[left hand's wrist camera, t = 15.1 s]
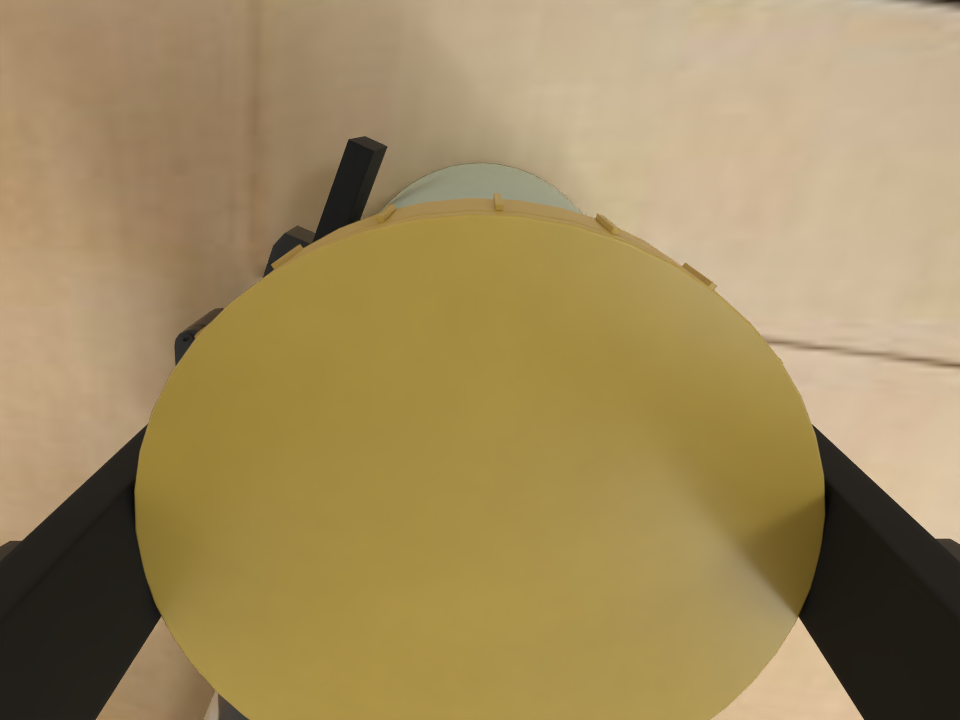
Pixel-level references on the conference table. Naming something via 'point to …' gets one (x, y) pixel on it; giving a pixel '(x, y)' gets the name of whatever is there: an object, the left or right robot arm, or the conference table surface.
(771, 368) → the lid
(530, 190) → the jar
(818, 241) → the conference table surface
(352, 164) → the right robot arm
